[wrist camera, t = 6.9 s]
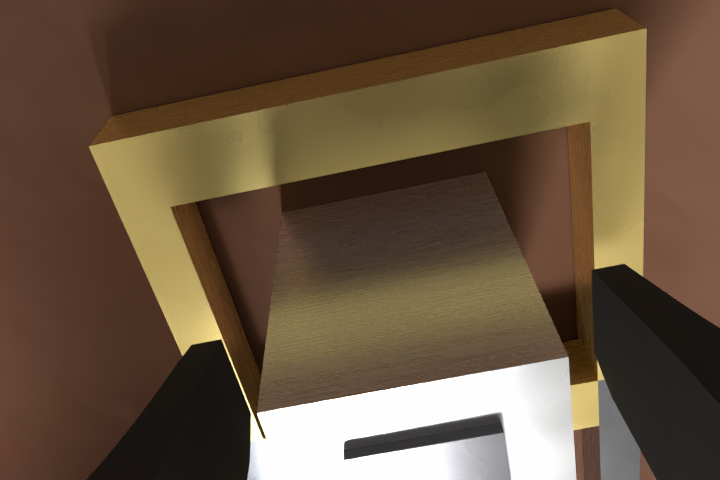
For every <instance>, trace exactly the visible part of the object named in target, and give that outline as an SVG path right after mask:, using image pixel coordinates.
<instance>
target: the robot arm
mask: <svg viewBox="0 0 720 480" xmlns="http://www.w3.org/2000/svg"><path fill="white" fill-rule="evenodd" d="M592 301H593V331H594V353H595V356H596V358H597V361H598V363H599V366H600V369H601V371H602V374H603V377H604V379H605V382H606V384H607V386H608V389H609V391H610V394H611V396H612V399H613V401H614V402H615V404H616V406H617V408H618V410H619V412H620V414H621V415H622V417H623V419H624V421H625V423H626V425H627V426H628V428H629V430H630V432H631V434H632V436H633V437H634V439H635V441H636V443H637V445H638V446H639V448H640V450H641V452H642V454H643V455H644V457H645V459H646V461H647V463H648V464H649V466H650V468H651V470H652V472H653V473H654V475H655V477H656V479H657V480H720V328H719V327H717V326H715V325H714V324H712V323H711V322H709V321H708V320H706V319H704V318H703V317H701V316H700V315H698V314H697V313H695V312H694V311H692V310H691V309H689V308H688V307H686V306H685V305H683V304H682V303H680V302H679V301H677V300H676V299H674V298H673V297H671V296H670V295H668V294H667V293H666V292H664V291H663V290H661V289H660V288H658V287H657V286H656V285H654V284H653V283H651V282H650V281H648V280H647V279H646V278H644V277H643V276H641V275H640V274H638V273H637V272H636V271H634V270H633V269H631V268H630V267H628V266H627V265H625V264H620V265H615V266H609V267H604V268H599V269H593V270H592ZM250 446H251V412H250V410H249V407H248V405H247V402H246V400H245V397H244V395H243V392H242V390H241V387H240V385H239V382H238V380H237V377H236V375H235V372H234V370H233V367H232V365H231V362H230V360H229V357H228V355H227V352H226V350H225V347H224V345H223V342H222V340H221V339H220V340H215V341H209V342H204V343H199V344H193V345H191V346H190V347H189V349H188V350H187V351H186V353H185V354H184V355H183V357H182V358H181V360H180V361H179V362H178V364H177V365H176V367H175V368H174V369H173V371H172V372H171V374H170V375H169V376H168V378H167V379H166V381H165V382H164V383H163V385H162V386H161V388H160V389H159V390H158V392H157V393H156V394H155V396H154V397H153V399H152V400H151V401H150V403H149V404H148V405H147V407H146V408H145V409H144V411H143V412H142V413H141V415H140V416H139V417H138V419H137V420H136V421H135V423H134V424H133V425H132V426H131V428H130V429H129V430H128V431H127V433H126V434H125V435H124V436H123V437H122V439H121V440H120V441H119V442H118V444H117V445H116V446H115V447H114V449H113V450H112V451H111V452H110V453H109V455H108V456H107V457H106V458H105V460H104V461H103V462H102V463H101V464H100V465H99V467H98V468H97V469H96V470H95V471H94V472H93V473H92V474H91V476H90V477H89V478H88V479H87V480H247V478H248V471H249V464H250Z"/></svg>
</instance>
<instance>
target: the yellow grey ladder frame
mask: <svg viewBox="0 0 720 480" xmlns="http://www.w3.org/2000/svg"><path fill="white" fill-rule="evenodd" d="M646 42H647V28H645V27H644V26H642V25H641V24H639V23H638V22H636V21H634V20H633V19H631V18H630V17H628V16H627V15H625V14H623V13H622V12H620V11H619V10H617V9H616V8H614V9H609V10H605V11H600V12H595V13H591V14H586V15H581V16H577V17H572V18H567V19H563V20H558V21H553V22H549V23H544V24H539V25H535V26H530V27H525V28H521V29H516V30H511V31H507V32H502V33H497V34H493V35H488V36H483V37H479V38H474V39H469V40H465V41H460V42H455V43H451V44H446V45H441V46H437V47H432V48H427V49H423V50H418V51H413V52H409V53H404V54H399V55H395V56H390V57H385V58H381V59H376V60H372V61H367V62H362V63H358V64H353V65H348V66H344V67H339V68H334V69H330V70H325V71H320V72H316V73H311V74H306V75H302V76H297V77H292V78H288V79H283V80H278V81H274V82H269V83H264V84H260V85H255V86H250V87H246V88H241V89H236V90H232V91H227V92H222V93H218V94H213V95H208V96H204V97H199V98H194V99H190V100H185V101H180V102H176V103H171V104H166V105H162V106H157V107H152V108H148V109H143V110H138V111H134V112H129V113H124V114H120V115H115V116H111V117H110V119H109V120H108V121H107V123H106V124H105V125H104V127H103V128H102V129H101V131H100V132H99V133H98V135H97V136H96V137H95V139H94V140H93V141H92V143H91V144H90V145H89V148H90V151H91V153H92V155H93V157H94V159H95V162H96V164H97V166H98V168H99V171H100V173H101V175H102V177H103V180H104V182H105V184H106V186H107V189H108V191H109V193H110V195H111V197H112V200H113V202H114V204H115V206H116V209H117V211H118V213H119V215H120V218H121V220H122V222H123V224H124V226H125V229H126V231H127V233H128V235H129V238H130V240H131V242H132V244H133V247H134V249H135V251H136V253H137V256H138V258H139V260H140V262H141V264H142V267H143V269H144V271H145V273H146V276H147V278H148V280H149V282H150V285H151V287H152V289H153V291H154V293H155V296H156V298H157V300H158V302H159V305H160V307H161V309H162V311H163V314H164V316H165V318H166V320H167V323H168V325H169V327H170V329H171V331H172V334H173V336H174V338H175V340H176V343H177V345H178V347H179V349H180V352H181V354H182V356H183V355H184V354H185V353H186V351H187V350H188V349H189V347H190V346H191V345H193V344H199V343H204V342H209V341H215V340H220V339H221V340H222V342H223V345H224V347H225V350H226V352H227V355H228V357H229V360H230V362H231V365H232V367H233V370H234V372H235V375H236V377H237V380H238V382H239V385H240V387H241V390H242V392H243V395H244V397H245V400H246V402H247V405H248V407H249V410H250V412H251V446H250V464H249V471H248V478H247V480H283V477H282V475H281V472H280V470H279V467H278V465H277V462H276V460H275V457H274V455H273V452H272V450H271V447H270V445H269V442H268V440H267V437H266V435H265V432H264V430H263V428H262V425H261V423H260V420H259V418H258V415H257V408H258V400H259V392H260V384H261V375H260V372H259V370H258V367H257V364H256V362H255V359H254V356H253V354H252V351H251V348H250V346H249V343H248V340H247V338H246V335H245V333H244V330H243V327H242V325H241V322H240V319H239V317H238V314H237V311H236V309H235V306H234V303H233V301H232V298H231V295H230V293H229V290H228V287H227V285H226V282H225V279H224V277H223V274H222V271H221V269H220V266H219V263H218V261H217V258H216V255H215V253H214V250H213V247H212V245H211V242H210V239H209V237H208V234H207V232H206V229H205V226H204V224H203V221H202V218H201V216H200V213H199V210H198V208H197V205H196V202H197V201H201V200H206V199H211V198H216V197H221V196H226V195H231V194H236V193H241V192H246V191H251V190H256V189H261V188H265V187H270V186H275V185H280V184H285V183H290V182H295V181H300V180H305V179H310V178H315V177H320V176H325V175H330V174H334V173H339V172H344V171H349V170H354V169H359V168H364V167H369V166H374V165H379V164H384V163H389V162H394V161H398V160H403V159H408V158H413V157H418V156H423V155H428V154H433V153H438V152H443V151H448V150H453V149H458V148H463V147H467V146H472V145H477V144H482V143H487V142H492V141H497V140H502V139H507V138H512V137H517V136H522V135H527V134H532V133H536V132H541V131H546V130H551V129H556V128H561V127H566V126H567V127H568V148H569V168H570V189H571V209H572V230H573V251H574V271H575V292H576V313H577V333H578V339H576V340H570V341H565V342H562V344H563V346H564V348H565V350H566V353H567V355H568V358H569V373H570V389H571V404H572V420H573V430H577V429H582V436H583V457H584V478H585V480H640V448H639V446H638V445H637V443H636V441H635V439H634V437H633V436H632V434H631V432H630V430H629V428H628V426H627V425H626V423H625V421H624V419H623V417H622V415H621V414H620V412H619V410H618V408H617V406H616V404H615V402H614V401H613V399H612V396H611V394H610V391H609V389H608V386H607V384H606V382H605V379H604V377H603V374H602V371H601V369H600V366H599V363H598V361H597V358H596V356H595V353H594V331H593V301H592V270H593V269H599V268H604V267H609V266H615V265H620V264H625V265H627V266H628V267H630V268H631V269H633V270H634V271H636V272H637V273H638V274H640V275H641V276H643V240H644V174H645V108H646Z"/></svg>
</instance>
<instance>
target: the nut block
mask: <svg viewBox="0 0 720 480" xmlns="http://www.w3.org/2000/svg"><path fill="white" fill-rule="evenodd" d="M257 415H258V418H259V420H260V423H261V425H262V428H263V430H264V432H265V435H266V437H267V440H268V442H269V445H270V447H271V450H272V452H273V455H274V457H275V460H276V462H277V465H278V467H279V470H280V472H281V475H282V477H283V480H576V466H575V450H574V435H573V420H572V404H571V389H570V373H569V358H568V355H567V353H566V350H565V348H564V346H563V344H562V341H561V339H560V337H559V335H558V333H557V330H556V328H555V326H554V324H553V321H552V319H551V317H550V315H549V312H548V310H547V308H546V306H545V303H544V301H543V299H542V297H541V294H540V292H539V290H538V288H537V286H536V283H535V281H534V279H533V277H532V274H531V272H530V270H529V268H528V265H527V263H526V261H525V259H524V256H523V254H522V252H521V250H520V248H519V245H518V243H517V241H516V239H515V236H514V234H513V232H512V230H511V227H510V225H509V223H508V221H507V218H506V216H505V214H504V212H503V210H502V207H501V205H500V203H499V201H498V198H497V196H496V194H495V192H494V189H493V187H492V185H491V183H490V180H489V178H488V176H487V174H486V171H485V172H481V173H476V174H471V175H466V176H461V177H456V178H451V179H446V180H441V181H436V182H432V183H427V184H422V185H417V186H412V187H407V188H402V189H397V190H392V191H388V192H383V193H378V194H373V195H368V196H363V197H358V198H353V199H348V200H343V201H339V202H334V203H329V204H324V205H319V206H314V207H309V208H304V209H299V210H294V211H290V212H285V213H282V217H281V225H280V233H279V241H278V249H277V257H276V264H275V272H274V280H273V288H272V296H271V304H270V312H269V320H268V328H267V336H266V344H265V352H264V360H263V368H262V376H261V384H260V392H259V400H258V408H257Z"/></svg>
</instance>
